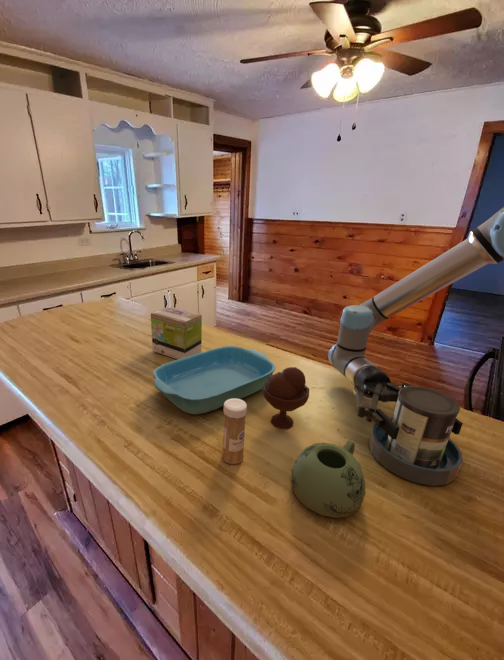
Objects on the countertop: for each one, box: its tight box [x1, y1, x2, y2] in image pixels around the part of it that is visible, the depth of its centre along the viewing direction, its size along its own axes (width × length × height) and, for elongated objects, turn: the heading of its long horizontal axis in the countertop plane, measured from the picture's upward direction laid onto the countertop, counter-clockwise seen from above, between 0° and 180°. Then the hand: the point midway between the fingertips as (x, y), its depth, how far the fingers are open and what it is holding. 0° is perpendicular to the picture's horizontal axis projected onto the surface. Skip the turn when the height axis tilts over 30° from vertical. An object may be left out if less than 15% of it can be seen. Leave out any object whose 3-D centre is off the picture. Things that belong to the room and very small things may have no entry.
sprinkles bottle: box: [221, 398, 248, 465], centre depth 69 cm, size 5×5×14 cm
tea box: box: [150, 306, 203, 360], centre depth 116 cm, size 15×10×15 cm, turn 55°
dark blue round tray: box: [368, 418, 464, 486], centre depth 71 cm, size 16×16×4 cm
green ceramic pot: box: [291, 439, 366, 519], centre depth 62 cm, size 16×13×9 cm
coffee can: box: [385, 385, 461, 469], centre depth 69 cm, size 10×10×14 cm
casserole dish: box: [152, 345, 276, 416], centre depth 95 cm, size 37×22×7 cm, turn 127°
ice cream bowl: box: [261, 366, 310, 430], centre depth 80 cm, size 11×11×15 cm
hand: (428, 431), depth 66 cm, fingers open, 13 cm apart
